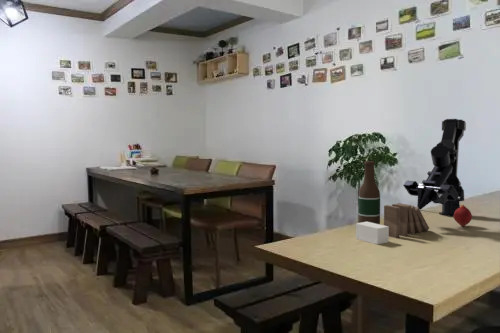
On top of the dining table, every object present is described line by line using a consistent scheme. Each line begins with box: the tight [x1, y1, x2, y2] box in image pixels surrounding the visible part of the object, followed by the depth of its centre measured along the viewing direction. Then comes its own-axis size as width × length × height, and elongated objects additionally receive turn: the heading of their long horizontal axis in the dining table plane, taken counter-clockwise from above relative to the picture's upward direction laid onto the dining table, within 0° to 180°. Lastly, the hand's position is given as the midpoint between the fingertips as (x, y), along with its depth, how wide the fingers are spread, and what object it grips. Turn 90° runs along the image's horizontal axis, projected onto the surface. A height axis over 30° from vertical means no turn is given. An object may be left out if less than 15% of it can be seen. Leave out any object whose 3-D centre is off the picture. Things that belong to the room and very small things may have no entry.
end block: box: [355, 222, 390, 245], centre depth 133 cm, size 5×9×5 cm, turn 32°
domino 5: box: [414, 206, 430, 232], centre depth 144 cm, size 2×5×10 cm
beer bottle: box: [357, 160, 381, 225], centre depth 152 cm, size 8×8×24 cm
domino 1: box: [383, 204, 400, 239], centre depth 138 cm, size 2×5×10 cm, turn 32°
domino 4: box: [410, 204, 423, 234], centre depth 143 cm, size 2×5×10 cm, turn 32°
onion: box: [453, 203, 473, 227], centre depth 150 cm, size 6×6×8 cm
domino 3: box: [397, 202, 416, 236], centre depth 141 cm, size 2×5×10 cm, turn 32°
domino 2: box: [391, 203, 408, 237], centre depth 140 cm, size 2×5×10 cm, turn 32°
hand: (418, 208), depth 145 cm, fingers closed
